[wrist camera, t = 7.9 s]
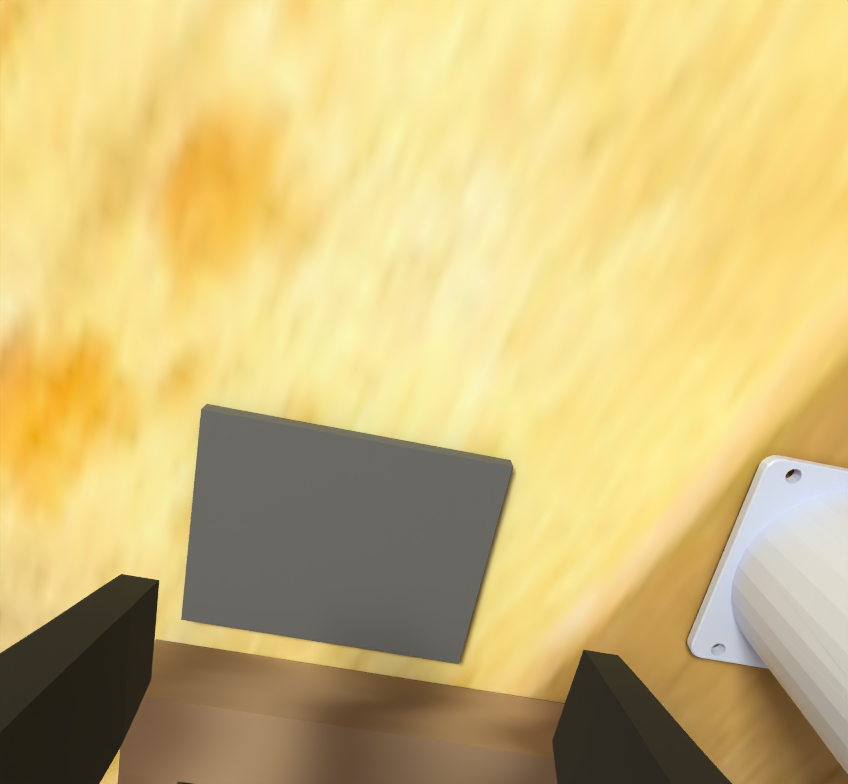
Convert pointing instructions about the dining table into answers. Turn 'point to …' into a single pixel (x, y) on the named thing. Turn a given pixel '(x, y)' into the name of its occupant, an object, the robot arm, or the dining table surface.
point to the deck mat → (338, 534)
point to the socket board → (326, 726)
